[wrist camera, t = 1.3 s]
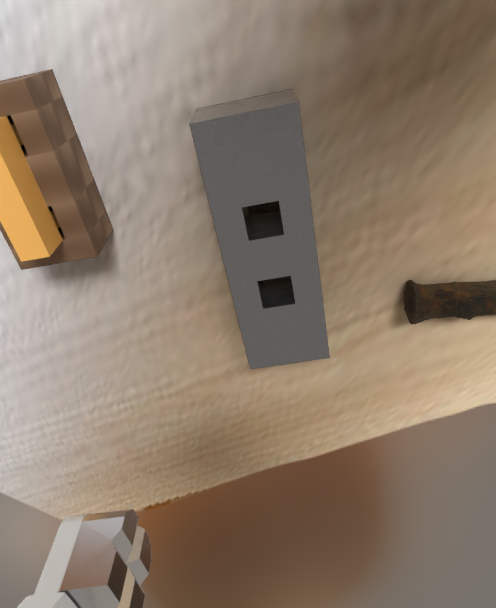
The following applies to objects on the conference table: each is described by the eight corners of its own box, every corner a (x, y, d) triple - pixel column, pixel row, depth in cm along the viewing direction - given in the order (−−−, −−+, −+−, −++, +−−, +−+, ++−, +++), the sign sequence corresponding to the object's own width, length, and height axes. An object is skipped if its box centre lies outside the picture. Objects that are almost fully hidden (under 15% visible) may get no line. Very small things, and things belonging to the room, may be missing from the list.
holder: (-30, 87, 37) (-69, 99, 33) (52, 69, 37) (23, 79, 32) (44, 242, 45) (21, 269, 40) (113, 229, 44) (97, 256, 39)
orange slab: (6, 108, 38) (-47, 132, 31) (33, 102, 37) (-14, 125, 31) (56, 221, 43) (21, 261, 36) (80, 216, 43) (49, 256, 36)
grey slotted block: (196, 108, 38) (189, 123, 34) (292, 89, 37) (298, 101, 33) (250, 336, 51) (250, 369, 46) (322, 325, 50) (329, 357, 46)
